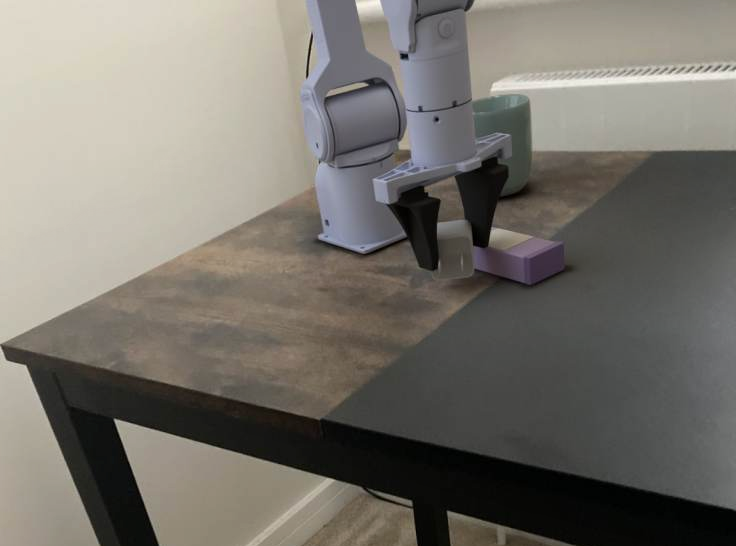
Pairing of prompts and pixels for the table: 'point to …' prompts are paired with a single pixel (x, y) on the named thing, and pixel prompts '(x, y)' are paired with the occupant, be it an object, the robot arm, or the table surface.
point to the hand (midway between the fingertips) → (453, 256)
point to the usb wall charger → (454, 250)
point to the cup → (510, 119)
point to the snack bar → (519, 256)
